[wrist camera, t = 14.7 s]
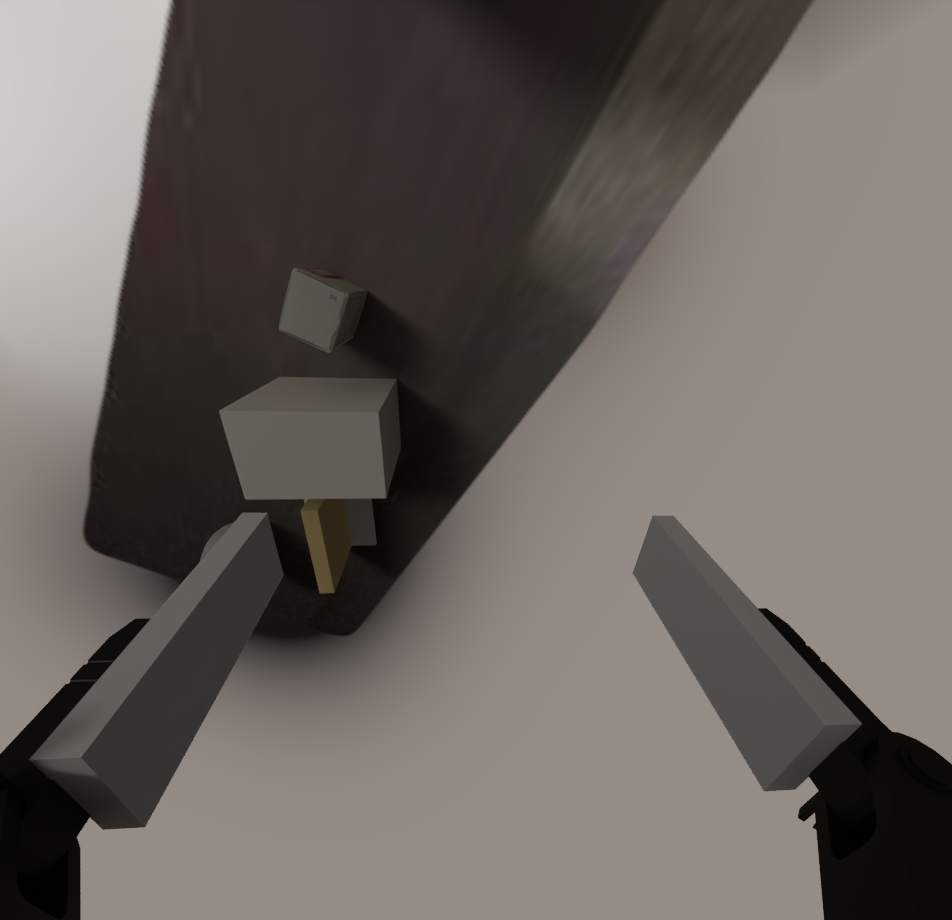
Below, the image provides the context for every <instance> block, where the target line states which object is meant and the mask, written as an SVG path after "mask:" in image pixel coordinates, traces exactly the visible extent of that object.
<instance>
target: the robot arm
mask: <svg viewBox="0 0 952 920" xmlns="http://www.w3.org/2000/svg"><path fill="white" fill-rule="evenodd" d="M633 574H634V576H635V578H636V579H637V581H638V582H639V584H640V586H641V587H642V589H643V591H644V592H645V594H646V596H647V597H648V599H649V601H650V602H651V604H652V606H653V607H654V609H655V611H656V612H657V614H658V616H659V617H660V619H661V620H662V622H663V624H664V626H665V627H666V629H667V630H668V632H669V634H670V636H671V637H672V639H673V641H674V642H675V644H676V646H677V647H678V649H679V651H680V652H681V654H682V656H683V657H684V659H685V661H686V662H687V664H688V665H689V667H690V669H691V671H692V672H693V674H694V676H695V677H696V679H697V680H698V682H699V684H700V686H701V687H702V689H703V690H704V692H705V694H706V696H707V697H708V699H709V700H710V702H711V704H712V706H713V707H714V708H715V710H716V712H717V714H718V715H719V717H720V719H721V720H722V722H723V724H724V725H725V727H726V729H727V730H728V732H729V734H730V735H731V737H732V739H733V740H734V742H735V744H736V745H737V747H738V749H739V750H740V752H741V754H742V755H743V757H744V759H745V760H746V762H747V764H748V765H749V767H750V769H751V770H752V772H753V774H754V775H755V777H756V778H757V780H758V782H759V784H760V785H761V787H762V789H763V790H764V791H776V790H792V789H793V790H794V789H796V788H797V787H798V786H799V785H800V784H801V783H802V782H803V781H804V780H805V779H806V778H807V777H810V779H811V780H812V781H813V783H814V784H815V786H816V787H817V789H818V790H819V791H818V792H817V793H816V794H815V795H814V796H813V797H812V798H811V799H810V800H809V801H807V802H806V803H805V804H804V805H803V806H802V807H801V808H800V810H799V814H798V818H799V819H801V820H802V821H805V820H806V819H808V818H809V817H810V816H811V815H812V814H813V813H815V816H816V823H815V825H814V826H813V828H815V829H816V830H817V840H818V852H819V864H820V876H821V888H822V900H823V910H824V920H952V764H951V763H949V762H948V761H947V760H946V759H944V758H943V757H942V756H941V755H939V754H938V753H937V752H936V751H934V750H933V749H931V748H930V747H928V746H926V745H925V744H923V743H921V742H920V741H918V740H916V739H914V738H911V737H909V736H906V735H904V734H901V733H897V732H892V731H891V730H889V729H888V728H887V727H886V726H885V725H884V724H883V723H882V722H881V721H880V720H879V719H878V718H877V717H876V716H875V715H874V714H873V713H872V712H871V710H870V709H869V708H868V707H867V706H866V705H865V704H864V703H863V702H862V701H861V700H860V699H859V698H858V697H857V696H856V695H855V694H854V693H853V692H852V691H851V690H850V688H849V687H848V686H847V685H846V684H845V683H844V682H843V681H842V680H841V679H840V678H839V677H838V676H837V675H836V674H835V673H834V672H833V671H832V670H831V669H830V668H829V666H827V664H826V663H825V662H822V661H821V660H820V657H819V656H818V655H817V654H816V653H815V652H814V651H813V650H812V649H811V648H810V647H809V646H806V644H805V642H804V640H803V639H802V638H801V637H800V636H799V635H798V634H797V633H796V632H795V631H794V630H793V629H792V628H791V627H790V626H789V625H788V624H787V623H786V622H784V621H783V620H781V619H780V618H779V617H777V616H776V615H775V614H773V613H772V612H770V611H769V610H768V609H766V608H765V609H757V607H756V606H755V605H754V604H753V603H752V602H751V601H750V600H749V599H748V598H747V596H745V594H744V593H743V592H742V591H741V590H740V589H739V588H738V587H737V585H736V584H735V583H734V582H733V581H732V580H731V579H730V578H729V577H728V576H727V574H726V573H725V572H724V571H723V570H722V569H721V568H720V567H719V566H718V565H717V563H715V561H714V560H713V559H712V558H711V557H710V556H709V555H708V553H707V552H706V551H705V550H704V549H703V548H702V547H701V546H700V545H699V544H698V542H697V541H696V540H695V539H694V538H693V537H692V536H691V535H690V534H689V533H688V531H687V530H686V529H685V528H684V527H683V526H682V525H681V524H680V523H679V522H678V520H677V519H676V518H675V517H674V516H653V517H652V520H651V522H650V525H649V528H648V531H647V534H646V537H645V540H644V543H643V545H642V548H641V551H640V554H639V557H638V560H637V563H636V565H635V568H634V571H633ZM283 576H284V574H283V571H282V567H281V563H280V559H279V556H278V552H277V548H276V544H275V540H274V537H273V533H272V529H271V525H270V522H269V518H268V514H267V513H242V514H241V515H240V516H239V517H238V519H237V520H236V521H235V522H234V523H233V524H232V526H231V527H230V528H229V529H228V530H227V531H226V533H225V534H224V535H223V536H222V537H221V538H220V539H219V541H218V542H217V543H216V544H215V545H214V546H213V548H212V549H211V550H210V551H209V552H208V553H207V554H206V556H205V557H204V558H203V559H202V560H201V561H200V563H199V564H198V565H197V566H196V567H195V568H194V570H193V571H192V572H191V573H190V574H189V575H188V576H187V578H186V579H185V580H184V581H183V582H182V583H181V585H180V586H179V587H178V588H177V589H176V590H175V592H174V593H173V594H172V595H171V596H170V597H169V599H168V600H167V601H166V602H165V603H164V604H163V605H162V607H161V608H160V609H159V610H158V611H157V612H156V614H155V615H154V616H153V617H152V618H151V619H135V620H133V621H132V622H130V623H129V624H128V625H126V626H125V627H124V628H122V629H121V630H119V631H118V632H116V633H115V634H114V635H112V636H111V637H109V638H108V639H107V640H106V642H105V643H104V644H103V645H102V646H101V647H100V648H99V649H98V650H97V651H96V653H94V654H93V655H92V657H91V658H90V659H89V660H88V663H87V664H86V665H83V666H82V667H81V668H80V669H79V671H78V672H77V673H76V674H75V675H74V676H73V677H72V678H71V679H70V680H71V681H70V683H69V684H65V686H64V687H63V688H62V689H61V690H60V691H59V692H58V693H57V694H56V695H55V696H54V697H53V698H52V699H51V700H50V702H49V703H48V704H47V705H46V706H45V707H44V708H43V709H42V710H41V711H40V712H39V713H38V714H37V715H36V717H35V718H34V719H33V720H32V721H31V722H30V723H29V724H28V725H27V726H26V727H25V728H24V729H23V730H22V731H21V733H20V734H19V735H18V736H17V737H16V738H15V739H14V740H13V741H12V742H11V743H10V744H9V745H8V746H7V748H6V749H5V750H4V751H3V752H2V753H1V754H0V920H80V846H79V843H78V840H77V836H78V834H79V832H80V831H81V830H82V828H83V827H84V825H85V823H86V822H87V820H88V819H89V817H90V818H91V819H92V820H94V821H95V822H96V823H97V824H98V825H99V826H100V827H101V828H102V829H119V828H137V827H145V826H146V824H147V822H148V820H149V819H150V817H151V815H152V813H153V811H154V810H155V808H156V806H157V804H158V802H159V800H160V798H161V797H162V795H163V793H164V791H165V790H166V788H167V786H168V784H169V782H170V780H171V779H172V777H173V775H174V773H175V771H176V770H177V768H178V766H179V764H180V762H181V760H182V759H183V757H184V755H185V753H186V751H187V750H188V748H189V746H190V744H191V742H192V741H193V739H194V737H195V735H196V733H197V731H198V730H199V728H200V726H201V724H202V722H203V721H204V719H205V717H206V715H207V713H208V711H209V710H210V708H211V706H212V704H213V702H214V701H215V699H216V697H217V695H218V693H219V692H220V690H221V688H222V686H223V684H224V682H225V681H226V679H227V677H228V675H229V673H230V672H231V670H232V668H233V666H234V664H235V662H236V661H237V659H238V657H239V655H240V654H241V652H242V650H243V648H244V646H245V644H246V643H247V641H248V639H249V637H250V635H251V634H252V632H253V630H254V628H255V626H256V625H257V623H258V621H259V619H260V617H261V615H262V614H263V612H264V610H265V608H266V606H267V605H268V603H269V601H270V599H271V597H272V595H273V594H274V592H275V590H276V588H277V586H278V585H279V583H280V581H281V579H282V577H283Z"/></svg>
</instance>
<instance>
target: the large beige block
mask: <svg viewBox="0 0 952 920" xmlns="http://www.w3.org/2000/svg"><path fill="white" fill-rule="evenodd" d="M219 413H220V416H221V419H222V423H223V426H224V427H223V428H224V431H225V434H226V438H227V441H228V444H229V448H230V451H231V454H232V458H233V461H234V464H235V468H236V471H237V474H238V477H239V480H240V483H241V487H242V490H243V493H244V497H245V499H365V498H386V497H387V494H388V491H389V487H390V484H391V480H392V477H393V473H394V470H395V467H396V463H397V460H398V456H399V453H400V449H401V438H400V422H399V407H398V392H397V379H371V378H313V377H279V378H277V379H275V380H273V381H272V382H270V383H268V384H266V385H264V386H263V387H261V388H259V389H257V390H255V391H254V392H252V393H250V394H248V395H246V396H245V397H243V398H241V399H239V400H238V401H236V402H234V403H232V404H230V405H229V406H227V407H225V408H223V409H221V410H220V411H219Z"/></svg>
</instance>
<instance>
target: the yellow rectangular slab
mask: <svg viewBox="0 0 952 920" xmlns="http://www.w3.org/2000/svg"><path fill="white" fill-rule="evenodd" d="M301 515H302V519H303V524H304V528H305V532H306V537H307V541H308V545H309V549H310V554H311V558H312V562H313V567H314V571H315V575H316V580H317V584H318V588H319V593H335V590H336V587H337V585H338V582H339V579H340V576H341V574H342V571H343V568H344V566H345V563H346V560H347V558H348V555H349V552H350V549H351V547H352V543H351V537H350V531H349V525H348V519H347V512H346V506H345V500H344V499H308V500H307V502H306V503H305V505H304V506H303V508H302V509H301Z"/></svg>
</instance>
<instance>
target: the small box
mask: <svg viewBox="0 0 952 920" xmlns="http://www.w3.org/2000/svg"><path fill="white" fill-rule="evenodd" d="M367 294H368V291H367V290H366V289H364V288H362V287H360V286H358V285H356V284H354V283H353V282H351V281H349V280H347V279H344V278H342V277H340V276H338V275H336V274H334V273H332V272H329V271H327V270H315V269H296V268H294V269H293V271H292V274H291V278H290V281H289V285H288V289H287V292H286V297H285V301H284V305H283V309H282V314H281V318H280V324H279V330H280V331H282V332H284V333H286V334H288V335H290V336H292V337H295V338H297V339H299V340H301V341H303V342H305V343H307V344H309V345H312V346H314V347H316V348H318V349H321V350H323V351H325V352H328V353H330V352H331V351H333V350H335V349H336V348H338V347H339V346H341V345H343V344H344V343H346V342H347V341H349V340H351V339H352V338H353V337H354V334H355V331H356V328H357V325H358V322H359V319H360V316H361V313H362V310H363V307H364V304H365V300H366V297H367Z"/></svg>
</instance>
